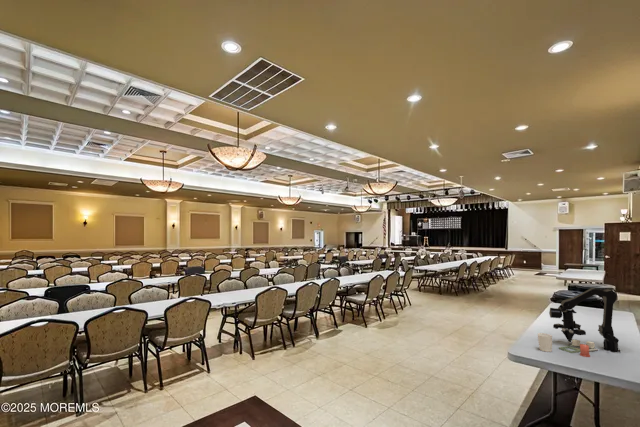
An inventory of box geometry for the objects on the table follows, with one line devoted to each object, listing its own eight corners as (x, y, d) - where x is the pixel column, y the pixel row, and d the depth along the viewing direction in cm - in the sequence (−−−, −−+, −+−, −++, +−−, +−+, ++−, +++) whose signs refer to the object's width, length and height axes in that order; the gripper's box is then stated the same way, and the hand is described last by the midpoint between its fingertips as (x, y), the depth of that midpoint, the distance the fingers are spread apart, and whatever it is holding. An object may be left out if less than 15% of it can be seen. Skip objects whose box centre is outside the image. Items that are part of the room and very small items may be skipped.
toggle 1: (580, 346, 213) (580, 340, 213) (576, 346, 212) (576, 341, 212) (575, 344, 216) (575, 339, 216) (572, 344, 215) (572, 339, 215)
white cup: (547, 348, 213) (546, 333, 214) (556, 352, 205) (555, 336, 206) (535, 348, 213) (534, 333, 214) (544, 352, 205) (543, 336, 206)
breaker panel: (598, 351, 207) (598, 349, 207) (587, 352, 205) (586, 350, 205) (580, 345, 218) (580, 343, 218) (570, 346, 215) (569, 345, 216)
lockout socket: (584, 351, 206) (583, 349, 206) (571, 353, 204) (571, 351, 204) (571, 347, 214) (571, 345, 214) (559, 348, 211) (559, 347, 212)
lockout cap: (592, 356, 197) (591, 346, 198) (586, 357, 196) (585, 346, 197) (583, 353, 202) (583, 343, 203) (578, 354, 201) (577, 344, 202)
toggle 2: (594, 348, 208) (594, 342, 209) (591, 348, 208) (591, 343, 208) (590, 346, 211) (589, 341, 211) (586, 347, 210) (586, 341, 211)
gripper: (591, 321, 212) (593, 345, 211) (564, 315, 230) (565, 336, 229) (578, 322, 210) (580, 346, 208) (551, 316, 228) (553, 338, 226)
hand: (569, 341), depth 218 cm, fingers closed
